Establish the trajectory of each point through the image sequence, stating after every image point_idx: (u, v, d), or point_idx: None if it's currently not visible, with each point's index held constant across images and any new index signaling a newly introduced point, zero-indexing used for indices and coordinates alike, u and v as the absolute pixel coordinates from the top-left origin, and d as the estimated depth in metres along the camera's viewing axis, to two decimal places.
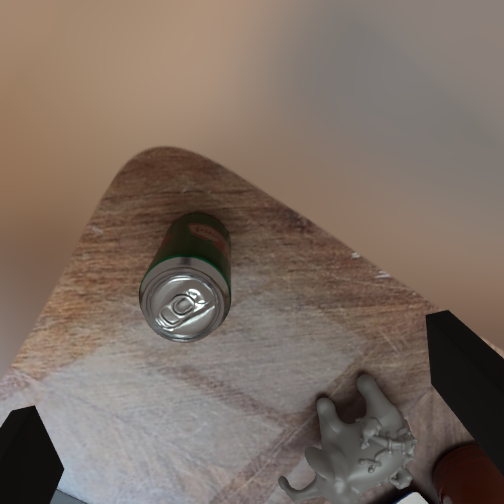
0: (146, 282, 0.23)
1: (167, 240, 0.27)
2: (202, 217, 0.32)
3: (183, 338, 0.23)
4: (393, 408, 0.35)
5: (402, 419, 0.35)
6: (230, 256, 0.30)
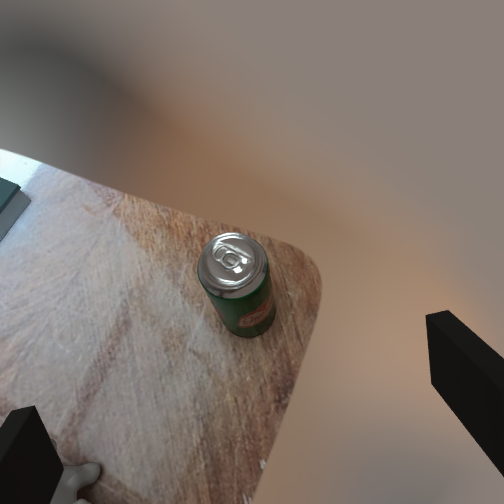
0: None
1: None
2: (274, 304, 0.38)
3: (202, 265, 0.29)
4: None
5: None
6: (251, 324, 0.35)
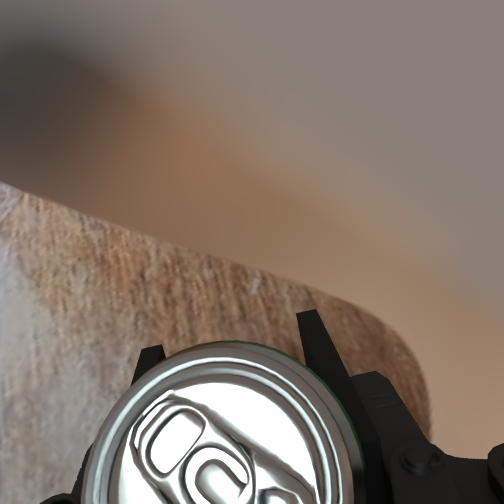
0: None
1: None
2: None
3: (95, 502, 0.07)
4: None
5: None
6: None
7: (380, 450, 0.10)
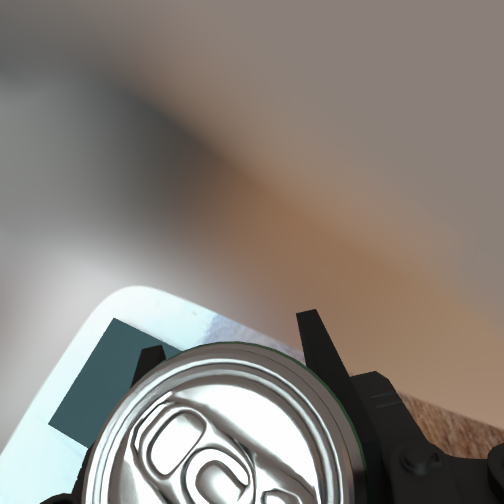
0: None
1: None
2: None
3: (96, 503, 0.07)
4: None
5: None
6: None
7: (380, 450, 0.10)
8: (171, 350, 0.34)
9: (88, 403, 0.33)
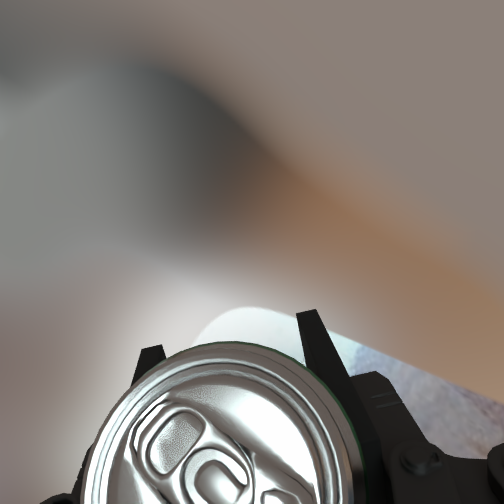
0: None
1: None
2: None
3: (94, 503, 0.07)
4: None
5: None
6: None
7: (380, 450, 0.10)
8: None
9: None
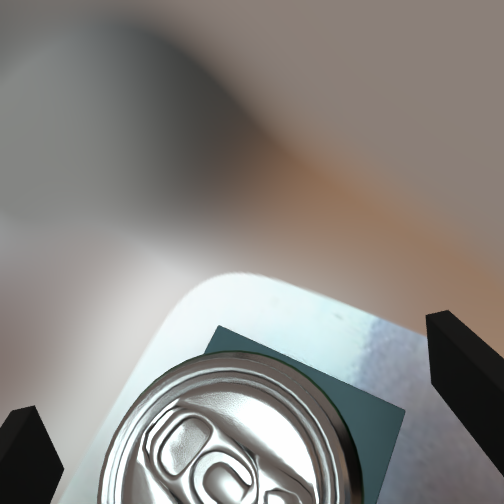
0: (267, 364, 0.09)
1: None
2: None
3: (110, 502, 0.07)
4: None
5: None
6: None
7: None
8: (331, 383, 0.19)
9: None
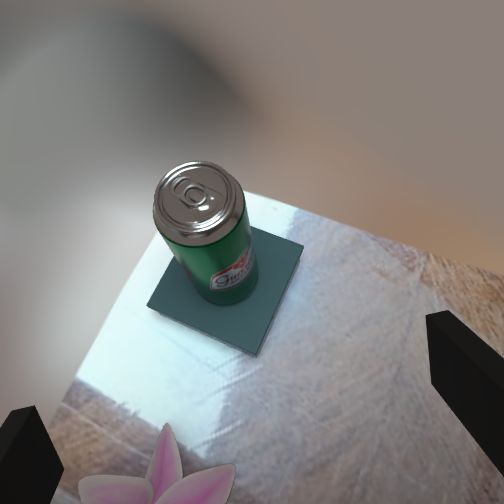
0: None
1: None
2: (257, 265, 0.31)
3: (158, 203, 0.22)
4: None
5: None
6: (227, 286, 0.28)
7: None
8: (263, 234, 0.34)
9: (185, 284, 0.33)
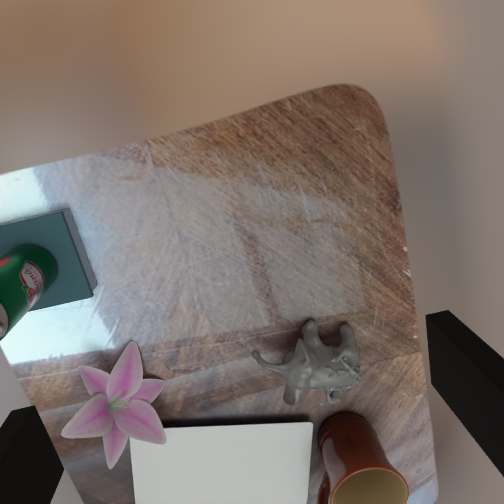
0: None
1: (0, 266, 0.36)
2: (43, 258, 0.41)
3: None
4: (359, 353, 0.48)
5: (358, 363, 0.48)
6: (39, 298, 0.39)
7: None
8: (28, 223, 0.41)
9: None
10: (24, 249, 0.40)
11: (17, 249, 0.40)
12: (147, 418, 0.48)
